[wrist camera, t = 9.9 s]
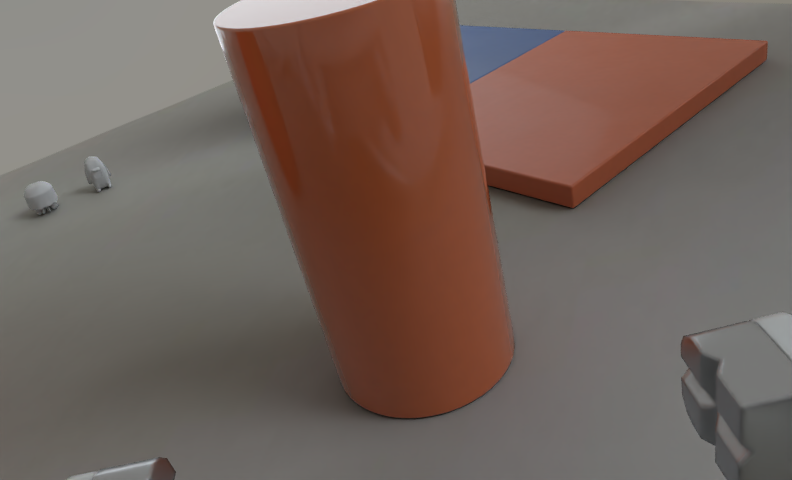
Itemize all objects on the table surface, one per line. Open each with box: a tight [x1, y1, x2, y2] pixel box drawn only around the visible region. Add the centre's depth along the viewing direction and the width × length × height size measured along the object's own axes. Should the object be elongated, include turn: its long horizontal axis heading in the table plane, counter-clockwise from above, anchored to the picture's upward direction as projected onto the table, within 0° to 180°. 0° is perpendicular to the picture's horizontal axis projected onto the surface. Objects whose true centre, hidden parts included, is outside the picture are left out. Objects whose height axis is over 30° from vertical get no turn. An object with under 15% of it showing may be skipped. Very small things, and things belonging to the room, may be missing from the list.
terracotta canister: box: [214, 0, 515, 418], centre depth 18 cm, size 6×6×11 cm
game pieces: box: [24, 156, 112, 215], centre depth 38 cm, size 8×2×2 cm, turn 122°
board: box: [460, 25, 768, 208], centre depth 39 cm, size 24×16×1 cm, turn 42°
